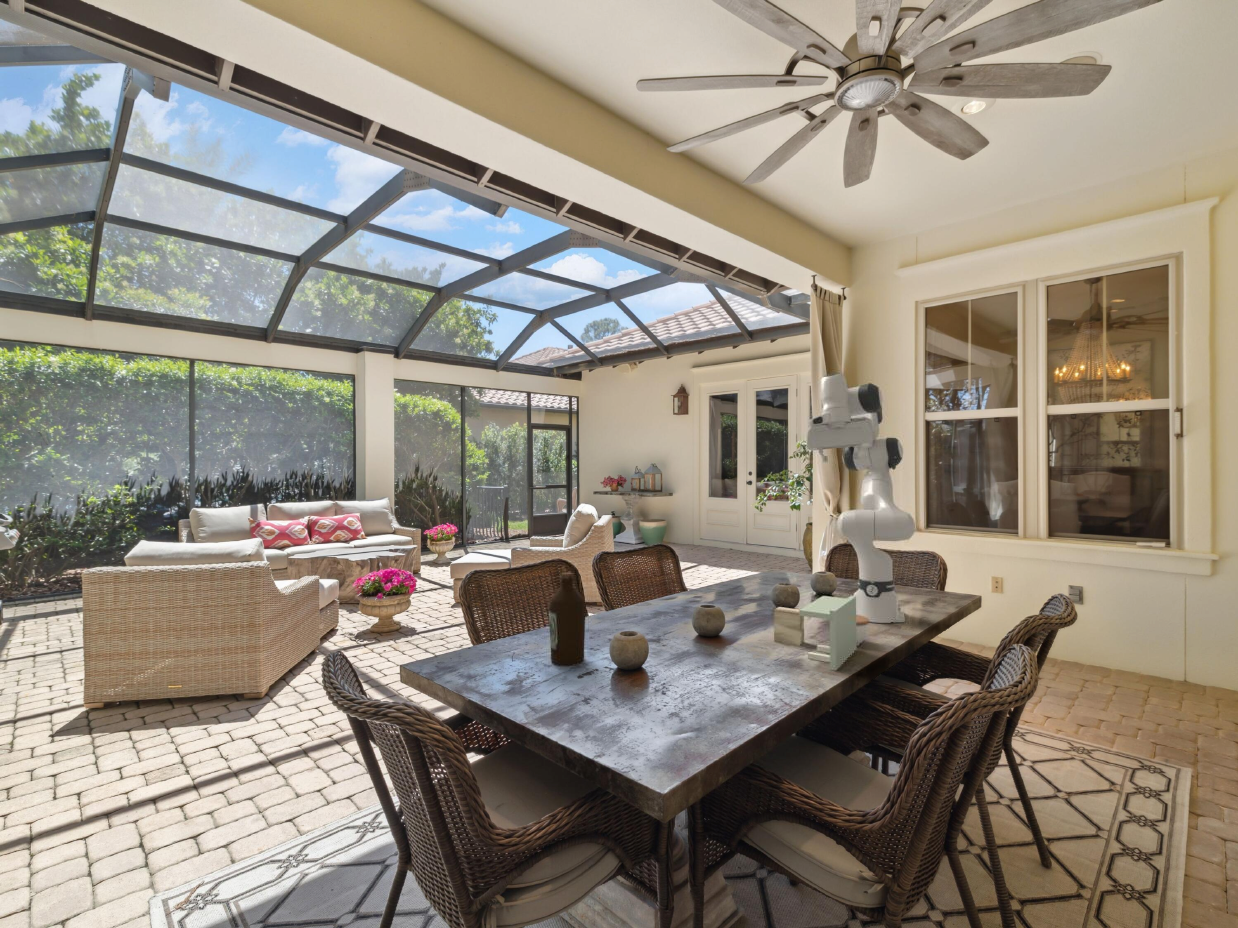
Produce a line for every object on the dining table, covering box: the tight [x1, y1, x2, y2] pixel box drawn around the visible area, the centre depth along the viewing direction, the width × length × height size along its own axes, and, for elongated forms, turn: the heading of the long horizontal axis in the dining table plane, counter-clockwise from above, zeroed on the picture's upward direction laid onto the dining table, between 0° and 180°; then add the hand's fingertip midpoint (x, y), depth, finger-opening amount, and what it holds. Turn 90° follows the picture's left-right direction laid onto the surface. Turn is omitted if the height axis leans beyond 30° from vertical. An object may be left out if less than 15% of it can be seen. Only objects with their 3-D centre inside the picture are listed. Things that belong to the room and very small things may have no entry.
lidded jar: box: [856, 615, 870, 646], centre depth 185 cm, size 11×11×9 cm
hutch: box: [798, 595, 858, 671], centre depth 172 cm, size 22×10×16 cm, turn 145°
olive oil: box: [548, 571, 587, 667], centre depth 170 cm, size 11×11×25 cm
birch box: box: [773, 606, 805, 647], centre depth 187 cm, size 4×8×10 cm, turn 55°
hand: (840, 460), depth 193 cm, fingers open, 8 cm apart
